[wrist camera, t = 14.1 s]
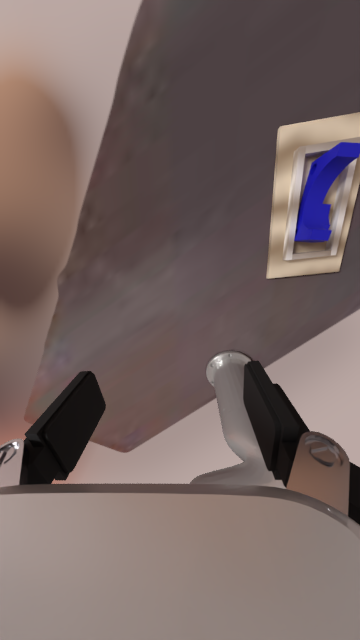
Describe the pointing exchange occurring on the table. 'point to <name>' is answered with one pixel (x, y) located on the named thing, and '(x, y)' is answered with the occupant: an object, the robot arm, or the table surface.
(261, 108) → the table surface
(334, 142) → the clip cradle
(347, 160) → the blue curved piece
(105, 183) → the table surface
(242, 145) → the table surface
